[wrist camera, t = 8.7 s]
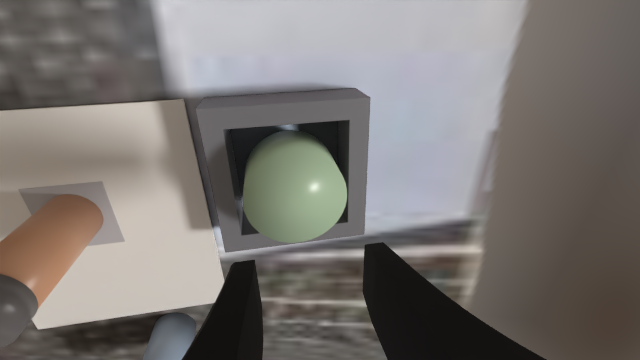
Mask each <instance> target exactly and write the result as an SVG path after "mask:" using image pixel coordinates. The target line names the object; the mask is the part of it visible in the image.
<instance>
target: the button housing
mask: <svg viewBox="0 0 640 360" xmlns="http://www.w3.org/2000/svg"><path fill="white" fill-rule="evenodd" d="M196 114H197V119H198V124H199V129H200V133H201V138H202V143H203V148H204V153H205V157H206V162H207V167H208V172H209V176H210V181H211V186H212V191H213V196H214V200H215V205H216V210H217V215H218V220H219V224H220V229H221V234H222V239H223V244H224V248H225V253H226V252H234V251H241V250H249V249H257V248H264V247H272V246H279V245H287V244H295V243H286V242H280V241H276V240H273V239H270V238H268V237H266V236H264V235H262V234H261V233H259V232H258V231H257V230H256V229H255V228H254V227H253V226H252V225H251V224H250V222H249V221H248V219H247V217H246V215H245V212H244V211H243V207H242V201H241V194H240V188H239V182H238V176H237V170H236V164H235V158H234V152H233V146H232V139H231V133H230V129H236V128H250V127H263V126H276V125H289V124H302V123H315V122H328V121H338V169H339V170H340V172H341V174H342V176H343V178H344V180H345V183H346V187H347V201H346V205H345V208H344V211H343V213H342V215H341V217H340V218H339V220H338V221H337V222H336V223H335V225H334V226H333V227H331V228H330V229H329V230H328V231H327V232H325V233H324V234H322V235H320V236H318V237H316V238H314V239H311V240H308V241H304V242H310V241H318V240H325V239H333V238H341V237H348V236H356V235H363V234H364V229H365V207H366V184H367V162H368V139H369V117H370V97H369V96H367V95H365V94H364V93H362V92H361V91H359V90H358V89H356V88H352V89H336V90H320V91H304V92H288V93H272V94H256V95H240V96H223V97H207V98H204V99H203V100H202V101H201V103H200V104H199V105H198V107H197V108H196ZM296 243H302V242H296Z"/></svg>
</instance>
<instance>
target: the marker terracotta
mask: <svg viewBox="0 0 640 360" xmlns="http://www.w3.org/2000/svg"><path fill="white" fill-rule="evenodd" d="M102 225H103V215H102V212H101V210H100V209H99V207H98V206H97V205H96V204H95V203H93V202H92V201H90V200H89V199H87V198H85V197H82V196H79V195H73V194H63V195H59V196H56V197H54V198H52V199H51V200H50V201H48V202H47V203H46V204H45V205H44V206H42V207H41V208H40V209H39V210H38V211H36V212H35V213H34V214H33V215H32V216H31V217H29V218H28V219H27V220H26V221H25V222H23V223H22V224H21V225H20V226H19V227H17V228H16V229H15V230H14V231H13V232H11V233H10V234H9V235H8V236H7V237H5V238H4V239H3V240H2V241H1V242H0V348H1V347H4V346H6V345H9V344H10V343H12V342H13V341H14V340H16V339H17V337H18V336H19V335H20V334H21V332H22V331H23V330H24V328H25V327H26V326H27V325H28V323H29V322H30V321H31V319H32V318H33V317H34V316H35V314H36V312H37V310H38V308H39V307H40V306H41V304H42V303H43V302H44V300H45V299H46V298H47V297H48V295H49V294H50V293H51V291H52V290H53V289H54V288H55V286H56V285H57V284H58V282H59V281H60V280H61V279H62V277H63V276H64V275H65V274H66V272H67V271H68V270H69V268H70V267H71V266H72V265H73V263H74V262H75V261H76V259H77V258H78V257H79V256H80V254H81V253H82V252H83V250H84V249H85V248H86V247H87V245H88V244H89V243H90V241H91V240H92V239H93V238H94V236H95V235H96V234H97V232H98V231H99V230H100V229H101V227H102Z"/></svg>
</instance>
